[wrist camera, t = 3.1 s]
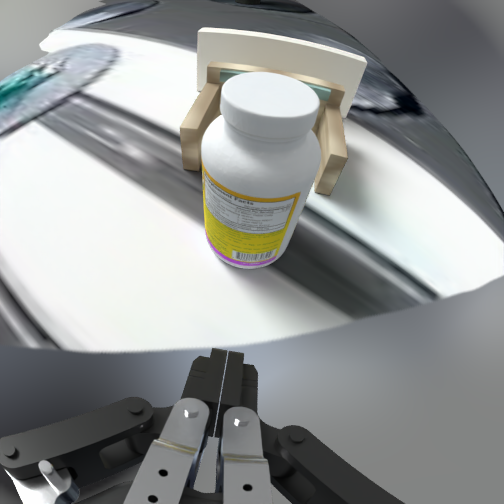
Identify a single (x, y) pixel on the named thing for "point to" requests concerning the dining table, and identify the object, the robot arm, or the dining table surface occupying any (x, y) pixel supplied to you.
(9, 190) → the dining table surface
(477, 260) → the dining table surface
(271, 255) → the supplement bottle
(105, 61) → the dining table surface
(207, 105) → the cradle
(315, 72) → the backstop board
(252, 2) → the sushi
